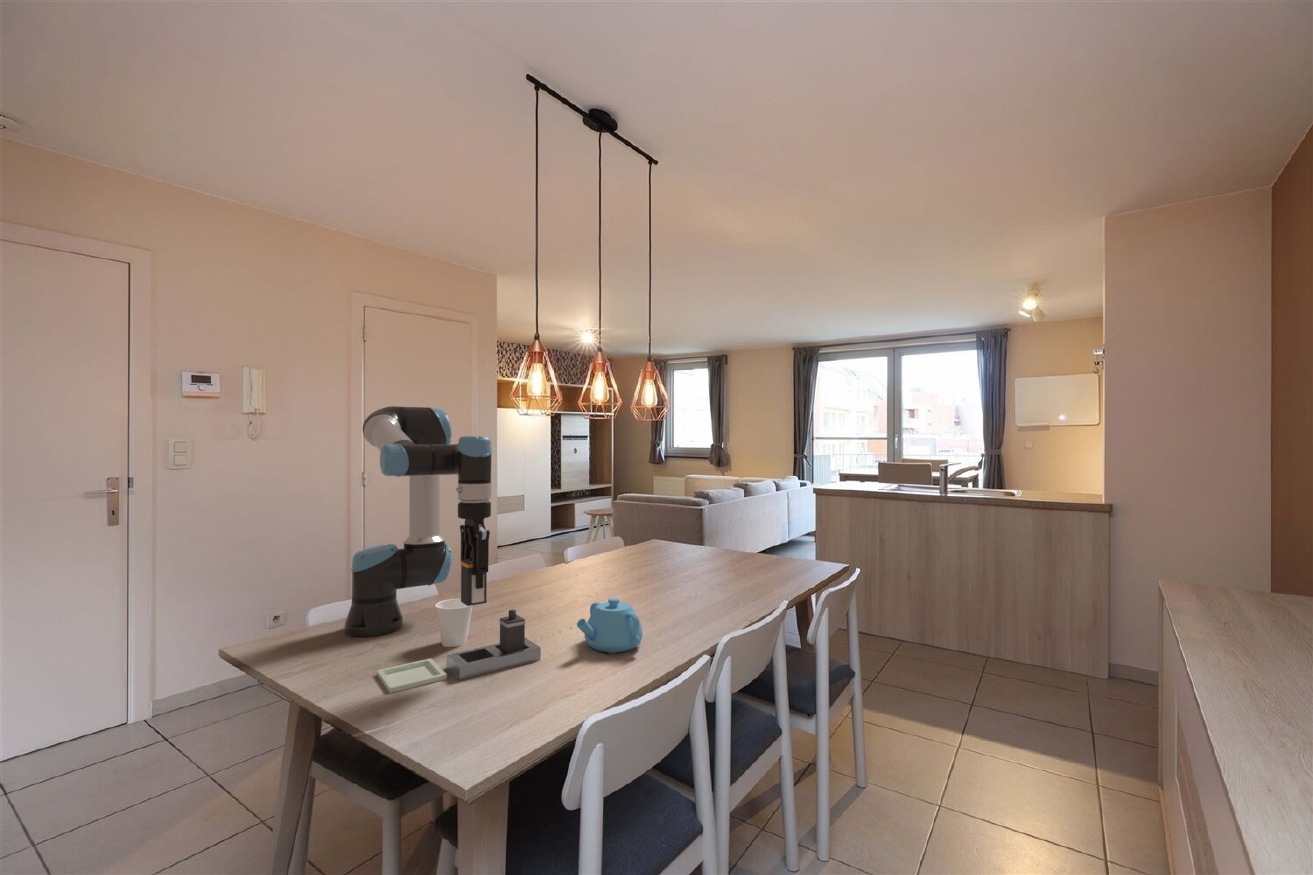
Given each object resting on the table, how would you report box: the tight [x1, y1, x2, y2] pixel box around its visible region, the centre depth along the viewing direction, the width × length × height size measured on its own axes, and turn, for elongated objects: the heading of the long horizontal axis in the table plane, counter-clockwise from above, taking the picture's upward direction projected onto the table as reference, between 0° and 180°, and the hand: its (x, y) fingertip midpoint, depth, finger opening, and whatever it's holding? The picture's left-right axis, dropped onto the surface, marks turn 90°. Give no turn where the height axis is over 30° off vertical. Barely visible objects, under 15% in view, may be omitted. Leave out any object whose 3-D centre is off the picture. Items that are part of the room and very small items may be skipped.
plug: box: [460, 551, 488, 606], centre depth 133 cm, size 5×5×12 cm
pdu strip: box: [446, 637, 542, 681], centre depth 137 cm, size 9×20×4 cm, turn 128°
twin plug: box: [498, 609, 526, 654], centre depth 139 cm, size 5×5×12 cm
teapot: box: [576, 597, 643, 655], centre depth 148 cm, size 20×20×13 cm
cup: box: [434, 598, 474, 648], centre depth 150 cm, size 10×10×11 cm
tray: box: [376, 657, 448, 694], centre depth 129 cm, size 12×12×2 cm
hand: (473, 599), depth 133 cm, fingers closed on plug, 4 cm apart
